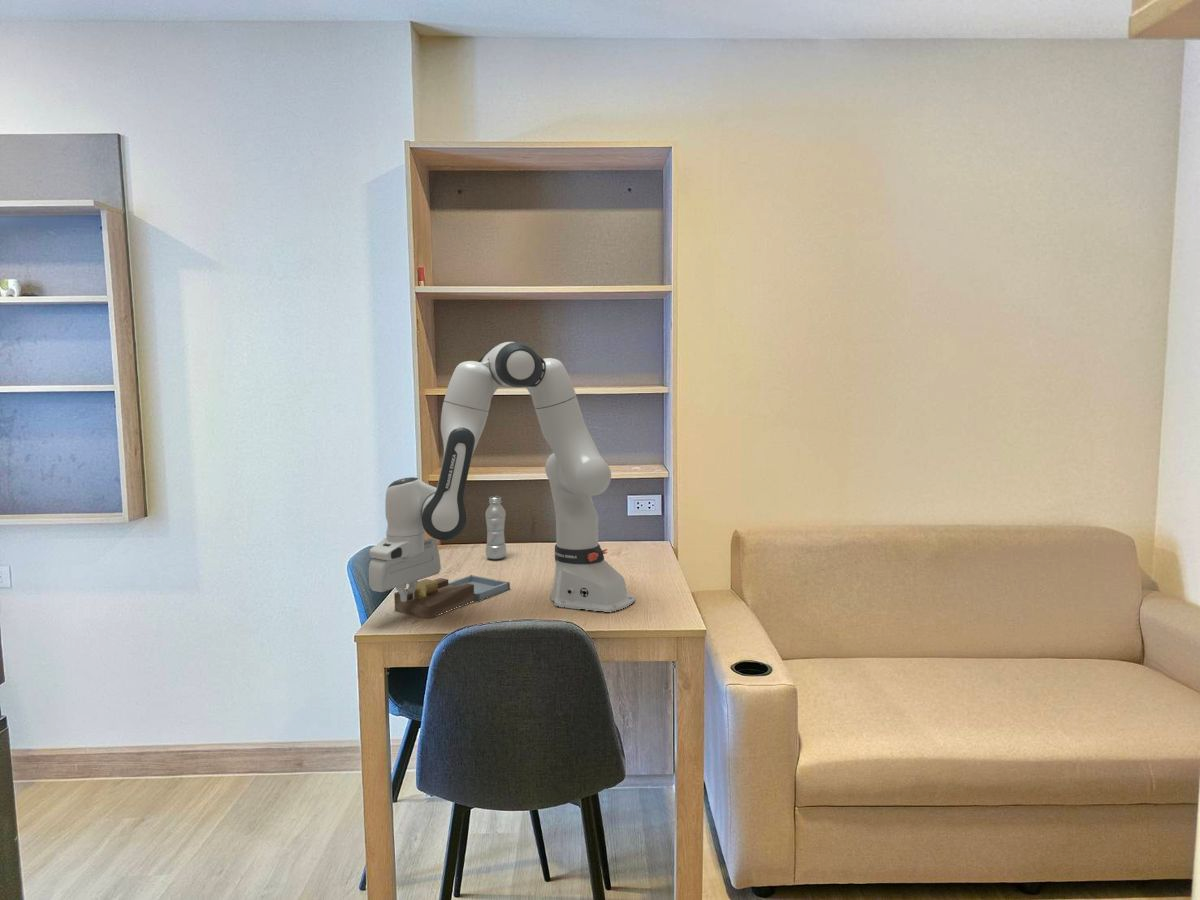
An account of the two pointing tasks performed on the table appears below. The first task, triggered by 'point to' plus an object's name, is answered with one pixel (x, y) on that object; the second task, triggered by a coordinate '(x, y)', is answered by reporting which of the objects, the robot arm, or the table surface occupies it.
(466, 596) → the slotted board
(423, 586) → the brass block
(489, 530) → the plastic bottle
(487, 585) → the tray
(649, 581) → the table surface
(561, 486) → the robot arm
